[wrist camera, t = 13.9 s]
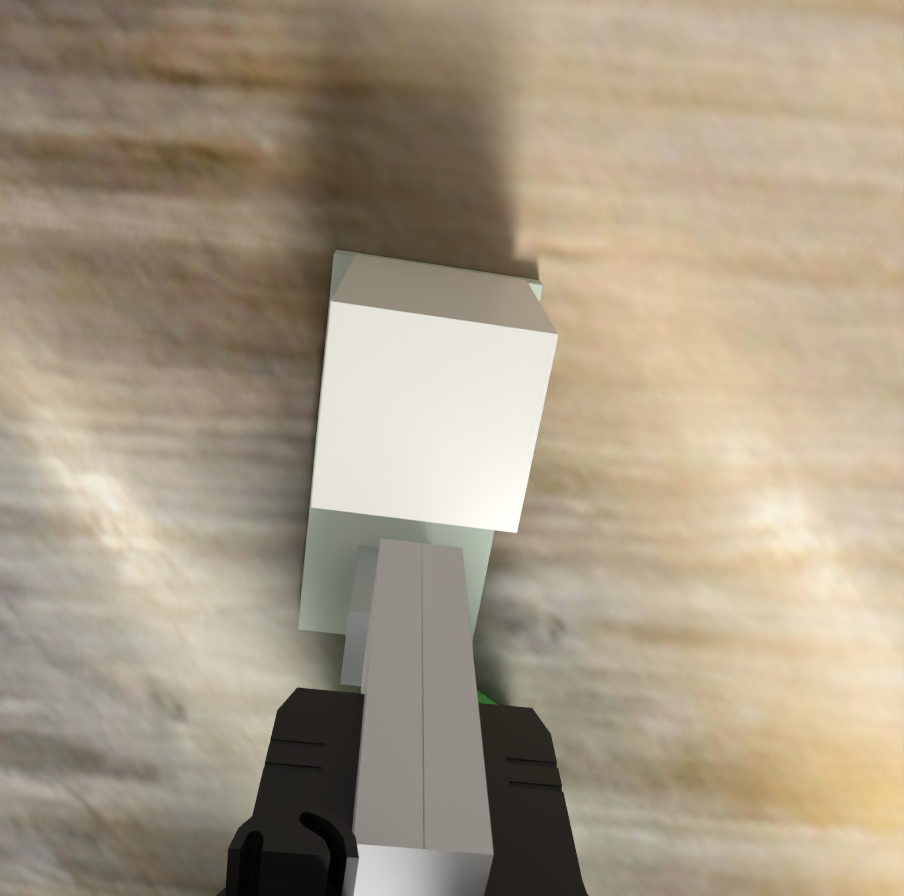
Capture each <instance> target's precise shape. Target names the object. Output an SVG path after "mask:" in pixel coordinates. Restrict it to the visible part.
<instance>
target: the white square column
mask: <svg viewBox="0 0 904 896" xmlns="http://www.w3.org/2000/svg"><path fill="white" fill-rule="evenodd" d="M557 339H558V333H557V331H556V329H555V328H554V326H553V324H552V323H551V321H550V319H549V318H548V316H547V314H546V312H545V311H544V309H543V307H542V306H541V304H540V302H539V301H538V299H537V297H536V295H535V294H534V292H533V290H532V289H531V287H530V285H529V284H528V282H527V280H523V279H516V278H509V277H503V276H496V275H490V274H483V273H476V272H470V271H463V270H456V269H450V268H443V267H437V266H430V265H423V264H417V263H410V262H403V261H397V260H390V259H384V258H377V257H370V256H364V255H357V254H356V255H355V257H354V258H353V260H352V262H351V264H350V266H349V268H348V270H347V272H346V274H345V276H344V277H343V279H342V281H341V283H340V285H339V287H338V289H337V291H336V293H335V294H334V296H333V298H332V300H331V306H330V316H329V326H328V337H327V347H326V357H325V368H324V378H323V389H322V399H321V409H320V420H319V430H318V440H317V451H316V461H315V471H314V482H313V492H312V503H311V507H312V508H320V509H328V510H336V511H344V512H352V513H360V514H368V515H376V516H385V517H393V518H401V519H409V520H417V521H425V522H433V523H441V524H449V525H457V526H465V527H473V528H481V529H489V530H497V531H506V532H514V533H517V530H518V525H519V520H520V515H521V511H522V506H523V501H524V496H525V491H526V487H527V482H528V477H529V472H530V468H531V463H532V458H533V453H534V449H535V444H536V439H537V434H538V429H539V425H540V420H541V415H542V410H543V406H544V401H545V396H546V391H547V386H548V382H549V377H550V372H551V367H552V363H553V358H554V353H555V348H556V343H557Z"/></svg>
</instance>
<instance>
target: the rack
mask: <svg viewBox="0 0 904 896" xmlns="http://www.w3.org/2000/svg"><path fill="white" fill-rule="evenodd" d="M356 254H357V255H364V256H370V257H377V258H384V259H390V260H397V261H403V262H410V263H417V264H423V265H430V266H437V267H443V268H450V269H456V270H463V271H470V272H476V273H483V274H490V275H496V276H503V277H509V278H516V279H523V280H527V282H528V284H529V285H530V287H531V289H532V290H533V292H534V294H535V295H536V297H537V299H538V301H539V302H540V297H541V292H542V287H543V285H542V283H541V282H540V280H535V279H528V278H522V277H515V276H509V275H502V274H495V273H489V272H482V271H475V270H469V269H462V268H456V267H449V266H442V265H436V264H429V263H422V262H416V261H409V260H403V259H396V258H389V257H383V256H376V255H369V254H363V253H356V252H350V251H343V250H336V251H335V253H334V257H333V268H332V278H331V289H330V299H329V309H328V320H327V330H326V341H325V351H324V362H323V372H322V383H321V393H320V404H319V414H318V425H317V435H316V446H315V456H314V466H313V477H312V487H311V498H310V508H309V519H308V529H307V540H306V550H305V561H304V571H303V582H302V592H301V602H300V613H299V623H298V629H299V630H308V631H317V632H326V633H335V634H344V635H346V639H345V647H344V655H343V663H342V671H341V680H340V684H342V685H352V686H361V685H362V675H363V665H364V657H365V649H366V642H367V634H368V627H369V620H370V612H371V605H372V598H373V590H374V583H375V575H376V568H377V561H378V553H379V546H380V539H381V538H382V539H391V540H400V541H408V542H417V543H426V544H434V545H443V546H452V547H460V548H462V550H463V560H464V570H465V579H466V589H467V599H468V609H469V618H470V628H471V638H472V643H473V637H474V632H475V627H476V622H477V617H478V612H479V607H480V602H481V597H482V592H483V587H484V582H485V577H486V571H487V566H488V561H489V556H490V551H491V546H492V541H493V536H494V531H495V530H489V529H481V528H473V527H465V526H457V525H449V524H441V523H433V522H425V521H417V520H409V519H401V518H393V517H385V516H376V515H368V514H360V513H352V512H344V511H336V510H328V509H320V508H312V507H311V503H312V492H313V482H314V471H315V461H316V451H317V440H318V430H319V420H320V409H321V399H322V389H323V378H324V368H325V357H326V347H327V337H328V326H329V316H330V306H331V300H332V298H333V296H334V294H335V293H336V291H337V289H338V287H339V285H340V283H341V281H342V279H343V277H344V276H345V274H346V272H347V270H348V268H349V266H350V264H351V262H352V260H353V258H354V257H355V255H356Z"/></svg>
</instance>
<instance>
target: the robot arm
mask: <svg viewBox="0 0 904 896" xmlns="http://www.w3.org/2000/svg"><path fill="white" fill-rule="evenodd" d="M216 896H588V894H587V892H586V890H585V887H584V884H583V881H582V877H581V872H580V868H579V863H578V858H577V854H576V849H575V844H574V840H573V835H572V830H571V826H570V821H569V816H568V812H567V807H566V802H565V798H564V793H563V792H562V784H561V779H560V775H559V770H558V768H557V761H556V756H555V751H554V747H553V742H552V737H551V734H550V732H549V731H548V729H547V728H546V727H545V725H544V724H543V722H542V721H541V720H540V718H539V717H538V716H537V714H536V713H535V711H534V710H533V709H532V708H526V707H516V706H505V705H495V704H485V703H478V697H477V687H476V677H475V667H474V658H473V648H472V638H471V628H470V618H469V609H468V599H467V589H466V579H465V570H464V560H463V550H462V548H460V547H452V546H443V545H434V544H426V543H417V542H408V541H400V540H391V539H382V538H381V539H380V546H379V553H378V561H377V568H376V575H375V583H374V590H373V598H372V605H371V612H370V620H369V627H368V634H367V642H366V649H365V657H364V665H363V675H362V685H361V694H358V693H348V692H338V691H327V690H317V689H307V688H297V689H296V690H295V691H294V692H293V693H292V694H291V695H290V697H289V698H288V699H287V700H286V701H285V702H284V703H283V705H282V706H281V707H280V708H279V709H278V710H277V714H276V719H275V723H274V727H273V731H272V735H271V741H270V744H269V748H268V752H267V756H266V761H265V767H264V769H263V773H262V777H261V782H260V786H259V790H258V794H257V799H256V803H255V807H254V811H253V815H252V817H251V818H250V819H248V820H247V821H246V822H245V823H244V824H243V825H242V826H240V827H239V828H238V830H237V832H236V834H235V836H234V838H233V840H232V842H231V844H230V846H229V848H228V861H227V877H226V887H225V888H224V889H223V890H222V891H221V892H220V893H219V894H218V895H216Z"/></svg>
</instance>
